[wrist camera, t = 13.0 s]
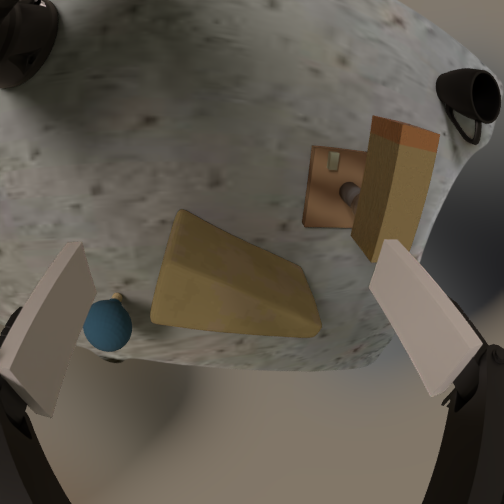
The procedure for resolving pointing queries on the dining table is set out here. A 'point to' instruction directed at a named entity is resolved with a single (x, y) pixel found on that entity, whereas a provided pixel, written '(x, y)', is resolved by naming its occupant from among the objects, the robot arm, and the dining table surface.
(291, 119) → the dining table surface
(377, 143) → the two-tone wooden block
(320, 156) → the wooden base plate
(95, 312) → the light bulb
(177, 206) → the dining table surface
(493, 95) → the mug
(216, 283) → the cheese
